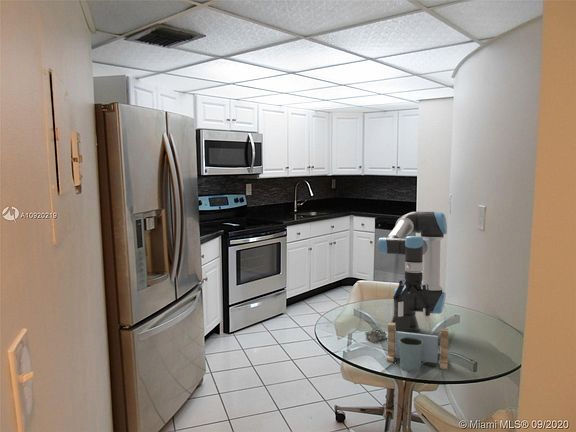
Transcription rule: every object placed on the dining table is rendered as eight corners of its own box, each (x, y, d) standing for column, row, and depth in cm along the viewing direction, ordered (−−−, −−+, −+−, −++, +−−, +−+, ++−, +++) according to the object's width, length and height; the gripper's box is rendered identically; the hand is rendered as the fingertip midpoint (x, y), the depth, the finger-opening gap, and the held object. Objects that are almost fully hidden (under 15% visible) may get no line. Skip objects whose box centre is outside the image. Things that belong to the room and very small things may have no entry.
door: (396, 355, 205) (396, 330, 204) (439, 360, 198) (440, 335, 197) (395, 357, 202) (395, 332, 201) (439, 363, 195) (439, 337, 194)
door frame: (390, 352, 209) (390, 320, 208) (448, 360, 199) (448, 326, 198) (386, 360, 200) (386, 326, 198) (447, 369, 190) (447, 333, 189)
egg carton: (372, 343, 223) (372, 335, 222) (363, 338, 229) (363, 331, 229) (388, 338, 228) (388, 331, 228) (378, 334, 235) (378, 326, 234)
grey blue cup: (394, 365, 195) (394, 338, 194) (412, 360, 200) (412, 335, 199) (409, 374, 186) (409, 346, 185) (427, 369, 190) (428, 342, 189)
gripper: (386, 268, 200) (385, 314, 201) (432, 276, 180) (431, 327, 180) (397, 267, 204) (396, 312, 205) (443, 274, 184) (442, 324, 185)
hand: (412, 319), depth 193 cm, fingers open, 13 cm apart
